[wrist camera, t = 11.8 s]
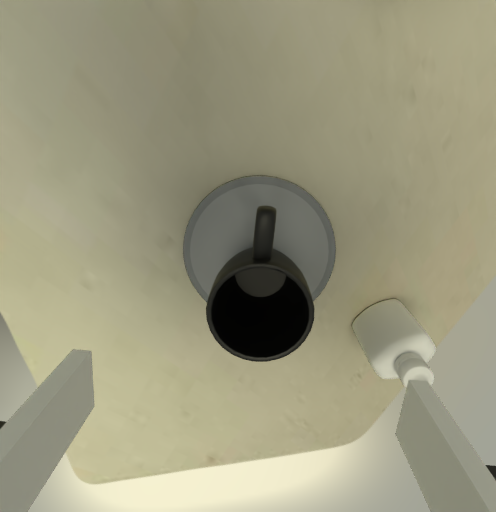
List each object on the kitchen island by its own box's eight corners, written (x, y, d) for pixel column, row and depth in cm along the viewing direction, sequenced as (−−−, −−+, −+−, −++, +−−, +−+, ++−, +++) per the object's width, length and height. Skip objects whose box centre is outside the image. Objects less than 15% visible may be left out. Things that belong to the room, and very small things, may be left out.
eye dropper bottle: (404, 334, 39) (463, 413, 28) (351, 338, 40) (387, 417, 28) (405, 296, 38) (467, 362, 27) (350, 301, 38) (387, 368, 27)
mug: (312, 197, 35) (330, 217, 25) (296, 314, 38) (306, 367, 29) (225, 189, 35) (212, 205, 26) (216, 306, 38) (202, 357, 29)
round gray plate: (187, 168, 35) (185, 169, 34) (345, 182, 35) (347, 183, 34) (182, 312, 39) (180, 316, 39) (322, 325, 39) (324, 329, 38)
